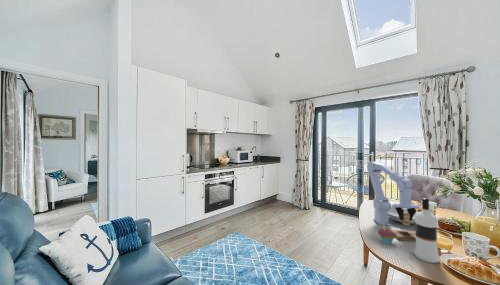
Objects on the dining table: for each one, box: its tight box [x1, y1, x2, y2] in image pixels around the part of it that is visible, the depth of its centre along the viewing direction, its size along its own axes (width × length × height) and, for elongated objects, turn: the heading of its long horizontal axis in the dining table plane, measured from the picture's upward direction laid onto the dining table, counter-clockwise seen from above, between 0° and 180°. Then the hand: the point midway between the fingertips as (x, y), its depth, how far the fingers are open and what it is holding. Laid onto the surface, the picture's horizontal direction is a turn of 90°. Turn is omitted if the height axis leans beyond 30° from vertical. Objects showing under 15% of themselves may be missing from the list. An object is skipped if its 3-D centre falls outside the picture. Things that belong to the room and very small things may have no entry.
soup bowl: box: [388, 206, 419, 225], centre depth 142 cm, size 24×24×7 cm
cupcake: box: [377, 222, 396, 245], centre depth 113 cm, size 9×8×12 cm
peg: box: [402, 212, 411, 226], centre depth 121 cm, size 4×4×7 cm
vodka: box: [413, 197, 440, 264], centre depth 97 cm, size 9×9×30 cm
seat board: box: [390, 229, 416, 242], centre depth 118 cm, size 9×18×2 cm, turn 81°
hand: (405, 219), depth 121 cm, fingers closed on peg, 4 cm apart
